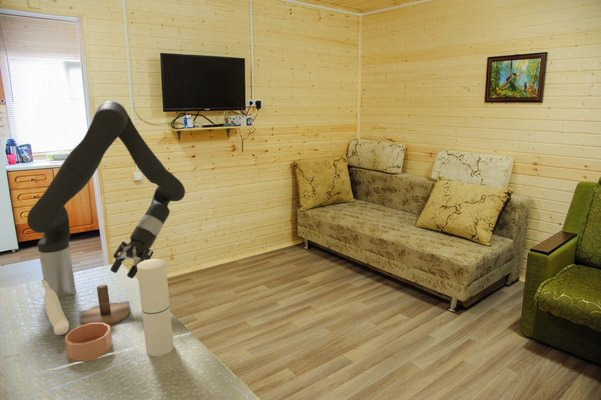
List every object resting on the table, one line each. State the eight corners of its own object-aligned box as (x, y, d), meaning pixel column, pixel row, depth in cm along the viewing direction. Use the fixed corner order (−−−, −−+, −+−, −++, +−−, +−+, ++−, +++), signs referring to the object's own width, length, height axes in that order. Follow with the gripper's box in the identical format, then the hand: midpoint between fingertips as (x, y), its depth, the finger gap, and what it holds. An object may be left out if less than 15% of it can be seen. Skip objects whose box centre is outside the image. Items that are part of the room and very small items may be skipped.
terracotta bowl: (68, 344, 117) (65, 328, 116) (110, 334, 122) (108, 318, 121) (67, 366, 108) (64, 349, 107) (113, 353, 113) (111, 337, 112)
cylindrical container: (148, 359, 110) (138, 271, 104) (144, 345, 117) (135, 261, 111) (175, 351, 114) (167, 265, 108) (170, 338, 120) (163, 256, 114)
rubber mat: (79, 312, 135) (79, 311, 135) (128, 302, 142) (128, 300, 142) (79, 335, 122) (79, 333, 122) (134, 322, 129) (134, 320, 129)
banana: (57, 347, 116) (49, 299, 113) (43, 321, 130) (36, 277, 127) (76, 340, 119) (69, 293, 116) (61, 315, 133) (54, 273, 130)
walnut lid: (80, 311, 135) (76, 283, 132) (127, 301, 141) (124, 274, 139) (81, 332, 123) (76, 301, 120) (132, 320, 129) (128, 290, 127)
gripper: (126, 222, 142) (99, 265, 136) (153, 228, 135) (127, 274, 128) (140, 233, 148) (115, 274, 141) (168, 239, 141) (143, 283, 134)
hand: (121, 274), depth 135 cm, fingers open, 8 cm apart
